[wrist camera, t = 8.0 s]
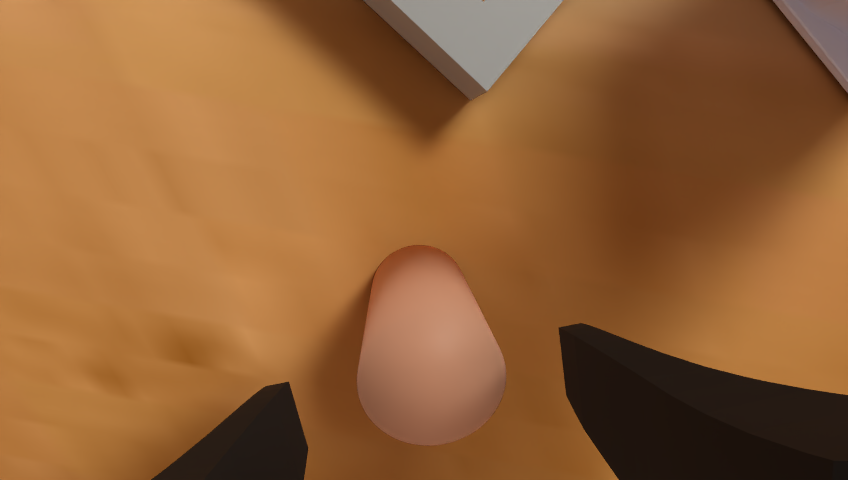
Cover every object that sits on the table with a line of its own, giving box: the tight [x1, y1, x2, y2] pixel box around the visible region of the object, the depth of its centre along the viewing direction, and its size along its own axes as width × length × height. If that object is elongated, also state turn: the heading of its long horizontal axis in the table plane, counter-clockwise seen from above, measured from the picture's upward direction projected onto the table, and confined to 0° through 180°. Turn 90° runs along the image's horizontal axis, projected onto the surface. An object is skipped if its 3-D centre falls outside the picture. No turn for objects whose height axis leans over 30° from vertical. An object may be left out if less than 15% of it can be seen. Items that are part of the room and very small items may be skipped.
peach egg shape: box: [357, 245, 506, 446], centre depth 15 cm, size 4×4×7 cm
